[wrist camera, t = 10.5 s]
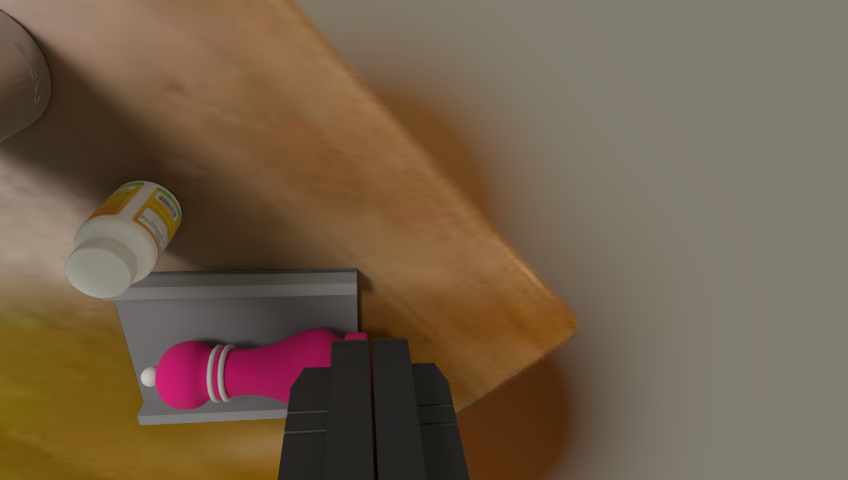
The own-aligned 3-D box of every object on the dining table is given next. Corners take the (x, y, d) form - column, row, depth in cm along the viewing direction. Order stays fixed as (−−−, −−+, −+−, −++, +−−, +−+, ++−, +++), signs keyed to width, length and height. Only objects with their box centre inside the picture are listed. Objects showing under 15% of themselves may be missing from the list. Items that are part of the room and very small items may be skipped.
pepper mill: (365, 310, 48) (141, 319, 47) (363, 377, 43) (110, 389, 42) (370, 357, 53) (166, 367, 52) (368, 423, 48) (142, 435, 47)
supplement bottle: (106, 226, 43) (46, 294, 35) (119, 169, 41) (57, 227, 33) (175, 246, 45) (133, 316, 36) (190, 192, 43) (149, 254, 34)
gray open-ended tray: (148, 406, 53) (140, 425, 51) (110, 272, 45) (99, 288, 43) (358, 396, 56) (358, 414, 54) (356, 268, 48) (356, 283, 46)
